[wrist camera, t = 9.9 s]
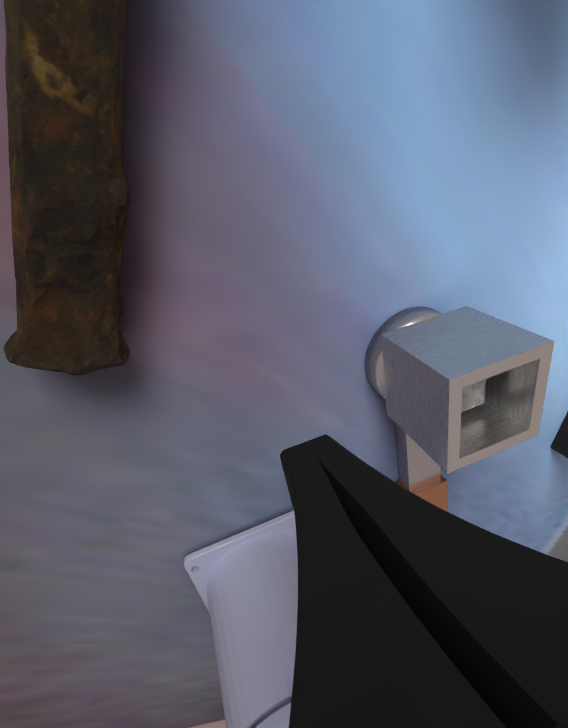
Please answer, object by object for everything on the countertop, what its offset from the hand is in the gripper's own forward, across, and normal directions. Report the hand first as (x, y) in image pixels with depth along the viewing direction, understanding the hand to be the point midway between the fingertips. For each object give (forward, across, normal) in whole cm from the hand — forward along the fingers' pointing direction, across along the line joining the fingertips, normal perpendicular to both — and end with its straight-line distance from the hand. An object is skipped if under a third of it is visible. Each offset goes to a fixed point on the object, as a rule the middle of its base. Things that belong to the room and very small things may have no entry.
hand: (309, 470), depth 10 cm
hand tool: (+10, +3, -11) cm, 15 cm away
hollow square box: (+8, -9, +4) cm, 13 cm away
